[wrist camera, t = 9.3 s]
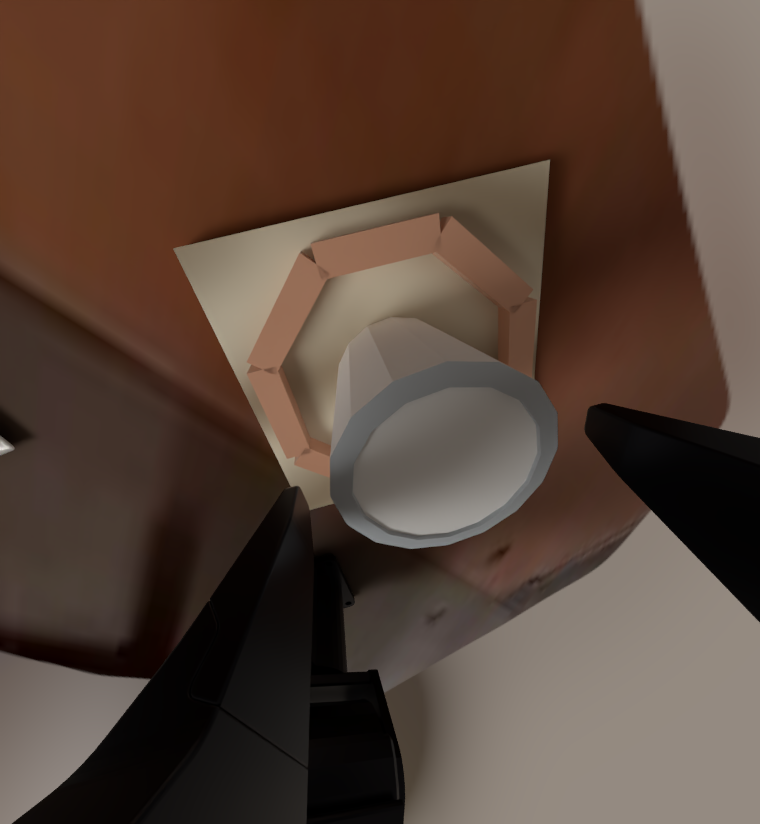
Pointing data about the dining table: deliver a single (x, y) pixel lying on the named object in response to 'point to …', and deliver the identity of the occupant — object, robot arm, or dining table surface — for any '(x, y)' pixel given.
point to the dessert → (5, 446)
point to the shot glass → (433, 436)
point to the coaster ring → (366, 253)
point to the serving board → (365, 289)
